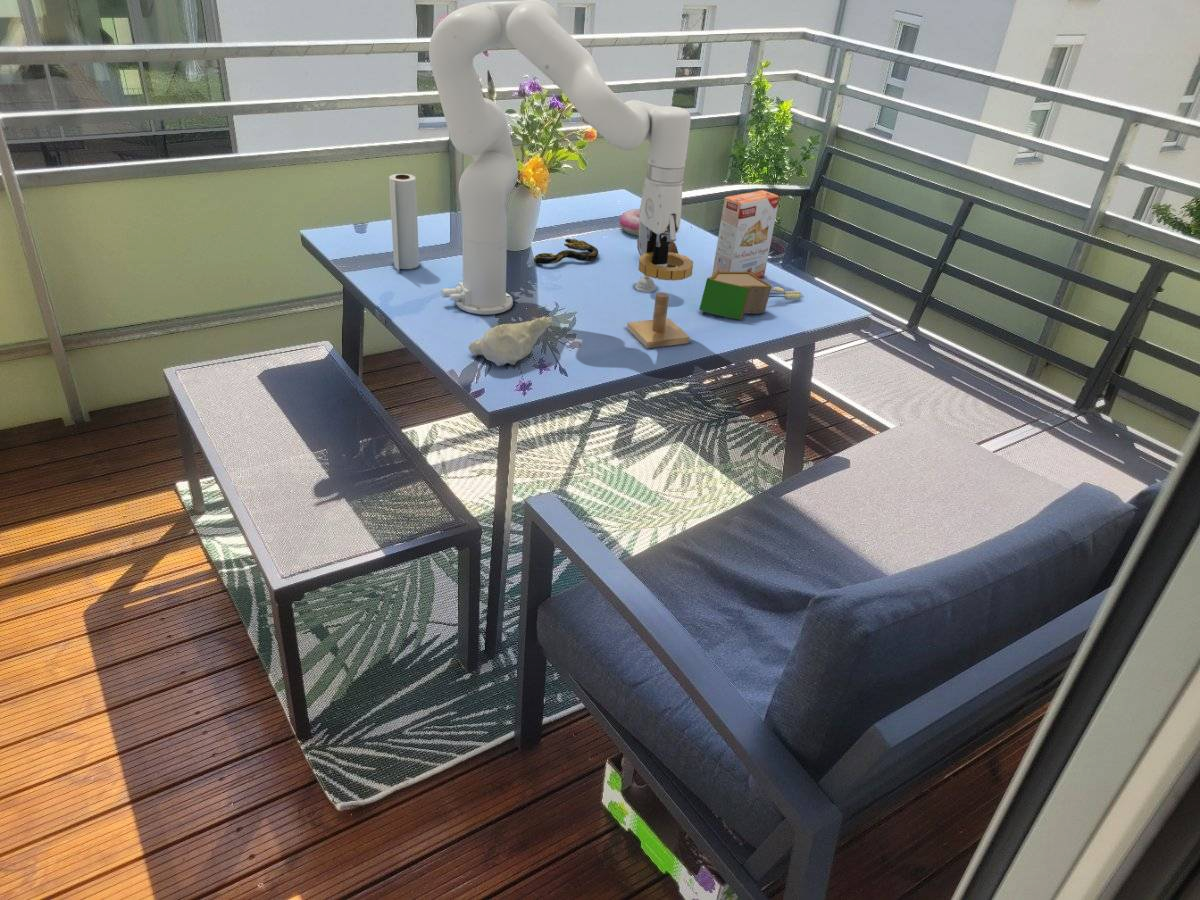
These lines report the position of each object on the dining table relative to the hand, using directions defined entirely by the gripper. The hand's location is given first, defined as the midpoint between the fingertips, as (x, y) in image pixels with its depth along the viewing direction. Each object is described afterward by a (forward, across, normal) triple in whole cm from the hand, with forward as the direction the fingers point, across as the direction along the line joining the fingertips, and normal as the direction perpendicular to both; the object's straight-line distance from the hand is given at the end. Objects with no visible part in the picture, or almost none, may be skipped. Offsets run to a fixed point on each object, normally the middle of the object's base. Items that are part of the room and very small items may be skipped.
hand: (656, 260), depth 190 cm
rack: (+15, +4, 0) cm, 16 cm away
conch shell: (+15, +5, -33) cm, 37 cm away
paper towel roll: (+15, -47, -43) cm, 65 cm away
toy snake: (+15, -43, -3) cm, 45 cm away
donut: (+15, -58, +26) cm, 65 cm away
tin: (+16, -34, +18) cm, 41 cm away
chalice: (+15, -21, +9) cm, 27 cm away
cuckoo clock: (+16, -5, +29) cm, 34 cm away
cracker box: (+16, -21, +35) cm, 43 cm away
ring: (0, +4, 0) cm, 4 cm away
